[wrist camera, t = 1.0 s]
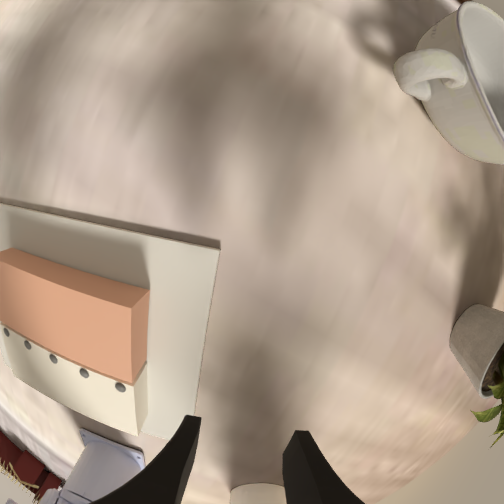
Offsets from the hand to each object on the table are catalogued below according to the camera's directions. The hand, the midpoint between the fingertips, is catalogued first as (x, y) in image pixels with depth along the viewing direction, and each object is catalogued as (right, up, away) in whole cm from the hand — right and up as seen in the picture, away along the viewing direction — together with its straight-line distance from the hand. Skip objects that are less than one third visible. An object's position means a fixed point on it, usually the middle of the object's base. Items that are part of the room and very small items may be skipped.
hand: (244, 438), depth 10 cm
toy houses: (-47, -39, +18) cm, 63 cm away
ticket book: (-15, -1, +9) cm, 18 cm away
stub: (-14, +5, +8) cm, 16 cm away
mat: (-15, +2, +8) cm, 18 cm away
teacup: (+14, +20, +4) cm, 25 cm away
